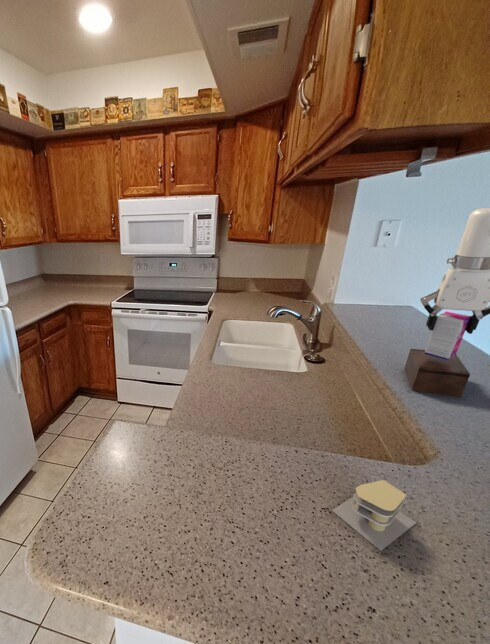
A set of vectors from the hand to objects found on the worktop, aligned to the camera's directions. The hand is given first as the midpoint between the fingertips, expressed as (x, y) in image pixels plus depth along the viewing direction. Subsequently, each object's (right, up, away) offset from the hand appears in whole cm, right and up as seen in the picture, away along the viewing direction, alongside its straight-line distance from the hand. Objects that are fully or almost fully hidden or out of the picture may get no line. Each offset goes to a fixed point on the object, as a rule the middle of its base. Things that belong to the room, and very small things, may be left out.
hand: (448, 330), depth 89 cm
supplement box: (0, -7, +3) cm, 8 cm away
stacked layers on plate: (-41, -37, -31) cm, 63 cm away
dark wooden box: (+1, -15, +7) cm, 16 cm away
